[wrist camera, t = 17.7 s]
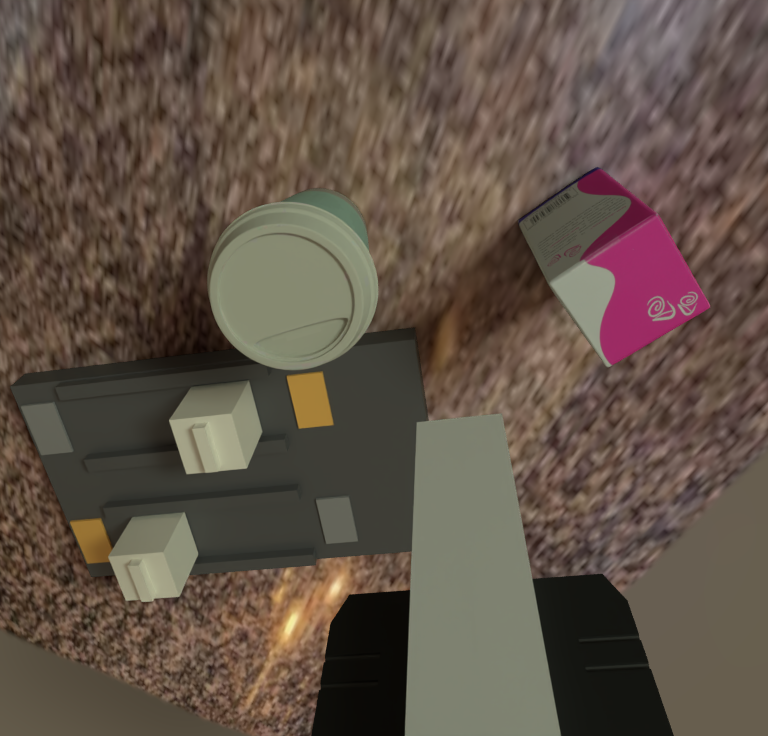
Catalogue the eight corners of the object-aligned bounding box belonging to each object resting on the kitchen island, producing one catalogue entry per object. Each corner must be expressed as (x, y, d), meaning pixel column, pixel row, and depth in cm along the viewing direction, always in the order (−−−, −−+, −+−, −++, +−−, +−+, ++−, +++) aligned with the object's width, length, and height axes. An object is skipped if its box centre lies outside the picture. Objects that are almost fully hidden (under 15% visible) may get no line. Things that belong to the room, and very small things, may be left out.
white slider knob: (191, 386, 47) (164, 426, 42) (248, 380, 47) (228, 419, 42) (206, 437, 49) (183, 480, 44) (262, 431, 48) (244, 474, 44)
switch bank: (25, 373, 50) (3, 392, 47) (415, 327, 46) (414, 344, 44) (101, 559, 57) (86, 584, 54) (444, 531, 54) (445, 555, 51)
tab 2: (133, 515, 52) (103, 563, 47) (184, 511, 52) (159, 559, 47) (148, 557, 54) (121, 607, 49) (198, 553, 53) (176, 603, 49)
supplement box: (565, 294, 45) (604, 373, 35) (515, 220, 43) (541, 279, 33) (647, 242, 43) (715, 309, 33) (599, 162, 41) (655, 206, 31)
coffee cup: (244, 279, 46) (186, 356, 35) (267, 149, 42) (210, 189, 31) (371, 312, 46) (352, 398, 35) (404, 186, 42) (395, 238, 32)
